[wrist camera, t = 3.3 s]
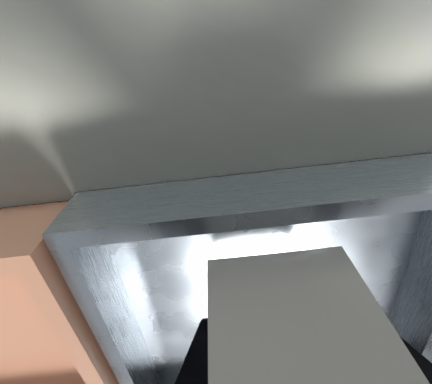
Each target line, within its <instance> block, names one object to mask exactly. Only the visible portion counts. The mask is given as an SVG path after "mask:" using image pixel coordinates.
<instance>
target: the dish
mask: <svg viewBox="0 0 432 384" xmlns="http://www.w3.org/2000/svg"><path fill="white" fill-rule="evenodd" d="M68 202H69V201H61V202H52V203H43V204H34V205H25V206H16V207H7V208H0V384H119V382H118V380H117V378H116V376H115V374H114V372H113V370H112V368H111V366H110V365H109V363H108V361H107V359H106V357H105V355H104V353H103V351H102V349H101V347H100V346H99V344H98V342H97V340H96V338H95V336H94V334H93V332H92V330H91V328H90V326H89V325H88V323H87V321H86V319H85V317H84V315H83V313H82V311H81V309H80V307H79V306H78V304H77V302H76V300H75V298H74V296H73V294H72V292H71V290H70V288H69V287H68V285H67V283H66V281H65V279H64V277H63V275H62V273H61V271H60V269H59V267H58V266H57V264H56V262H55V260H54V258H53V256H52V254H51V252H50V250H49V248H48V247H47V245H46V243H45V241H44V239H43V237H42V234H43V232H44V231H45V230H46V229H47V228H48V226H49V225H50V224H51V223H52V221H53V220H54V219H55V218H56V217H57V215H58V214H59V213H60V212H61V210H62V209H63V208H64V207H65V205H66V204H67V203H68Z"/></svg>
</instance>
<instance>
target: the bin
mask: <svg viewBox="0 0 432 384" xmlns="http://www.w3.org/2000/svg"><path fill="white" fill-rule="evenodd" d="M42 237H43V239H44V241H45V243H46V245H47V247H48V248H49V250H50V252H51V254H52V256H53V258H54V260H55V262H56V264H57V266H58V267H59V269H60V271H61V273H62V275H63V277H64V279H65V281H66V283H67V285H68V287H69V288H70V290H71V292H72V294H73V296H74V298H75V300H76V302H77V304H78V306H79V307H80V309H81V311H82V313H83V315H84V317H85V319H86V321H87V323H88V325H89V326H90V328H91V330H92V332H93V334H94V336H95V338H96V340H97V342H98V344H99V346H100V347H101V349H102V351H103V353H104V355H105V357H106V359H107V361H108V363H109V365H110V366H111V368H112V370H113V372H114V374H115V376H116V378H117V380H118V382H119V384H174V383H175V381H176V378H177V376H178V373H179V371H180V369H181V366H182V364H183V361H184V359H185V357H186V354H187V352H188V350H189V347H190V345H191V342H192V340H193V338H194V335H195V333H196V330H197V328H198V326H199V323H200V321H201V320H202V319H203V318H208V292H207V260H213V259H223V258H232V257H242V256H251V255H261V254H271V253H280V252H290V251H300V250H309V249H319V248H328V247H338V246H342V247H343V249H344V250H345V252H346V254H347V255H348V257H349V258H350V260H351V261H352V263H353V264H354V266H355V268H356V269H357V271H358V272H359V274H360V275H361V277H362V279H363V280H364V282H365V283H366V285H367V286H368V288H369V289H370V291H371V293H372V294H373V296H374V297H375V299H376V300H377V302H378V303H379V305H380V307H381V308H382V310H383V311H384V313H385V314H386V316H387V318H388V319H389V321H390V322H391V324H392V325H393V327H394V328H395V330H396V332H397V333H398V335H399V336H400V337H402V338H403V339H404V340H405V341H406V342H408V343H409V344H410V345H411V346H412V347H413V348H415V349H416V350H417V351H418V352H419V353H421V354H422V355H423V356H424V357H425V358H426V359H428V360H429V361H430V362H431V363H432V153H426V154H417V155H408V156H399V157H390V158H381V159H372V160H363V161H354V162H345V163H336V164H327V165H318V166H309V167H301V168H292V169H283V170H274V171H265V172H256V173H247V174H238V175H229V176H220V177H211V178H202V179H193V180H184V181H175V182H166V183H157V184H148V185H140V186H131V187H122V188H113V189H104V190H95V191H86V192H77V193H75V194H74V196H73V197H72V198H71V199H70V201H69V202H68V203H67V204H66V205H65V207H64V208H63V209H62V210H61V212H60V213H59V214H58V215H57V217H56V218H55V219H54V220H53V221H52V223H51V224H50V225H49V226H48V228H47V229H46V230H45V231H44V232H43V234H42Z"/></svg>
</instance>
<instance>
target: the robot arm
mask: <svg viewBox="0 0 432 384" xmlns="http://www.w3.org/2000/svg"><path fill="white" fill-rule="evenodd" d="M400 338H401V339H402V341H403V342H404V344H405V346H406V347H407V349H408V350H409V352H410V353H411V355H412V357H413V358H414V360H415V361H416V363H417V364H418V366H419V367H420V369H421V371H422V372H423V374H424V375H425V377H426V378H427V380H428V381H429V383H430V384H432V363H431V362H430V361H429V360H428V359H426V358H425V357H424V356H423V355H422V354H421V353H419V352H418V351H417V350H416V349H415V348H413V347H412V346H411V345H410V344H409V343H408V342H406V341H405V340H404V339H403V338H402V337H400ZM174 384H208V318H203V319H202V320H201V321H200V323H199V326H198V328H197V330H196V333H195V335H194V338H193V340H192V342H191V345H190V347H189V350H188V352H187V354H186V357H185V359H184V361H183V364H182V366H181V369H180V371H179V373H178V376H177V378H176V381H175V383H174Z"/></svg>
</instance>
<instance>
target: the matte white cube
mask: <svg viewBox="0 0 432 384" xmlns="http://www.w3.org/2000/svg"><path fill="white" fill-rule="evenodd" d="M207 292H208V384H430V383H429V381H428V380H427V378H426V377H425V375H424V374H423V372H422V371H421V369H420V367H419V366H418V364H417V363H416V361H415V360H414V358H413V357H412V355H411V353H410V352H409V350H408V349H407V347H406V346H405V344H404V342H403V341H402V339H401V338H400V336H399V335H398V333H397V332H396V330H395V328H394V327H393V325H392V324H391V322H390V321H389V319H388V318H387V316H386V314H385V313H384V311H383V310H382V308H381V307H380V305H379V303H378V302H377V300H376V299H375V297H374V296H373V294H372V293H371V291H370V289H369V288H368V286H367V285H366V283H365V282H364V280H363V279H362V277H361V275H360V274H359V272H358V271H357V269H356V268H355V266H354V264H353V263H352V261H351V260H350V258H349V257H348V255H347V254H346V252H345V250H344V249H343V247H342V246H338V247H328V248H319V249H309V250H300V251H290V252H280V253H271V254H261V255H251V256H242V257H232V258H223V259H213V260H207Z"/></svg>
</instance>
